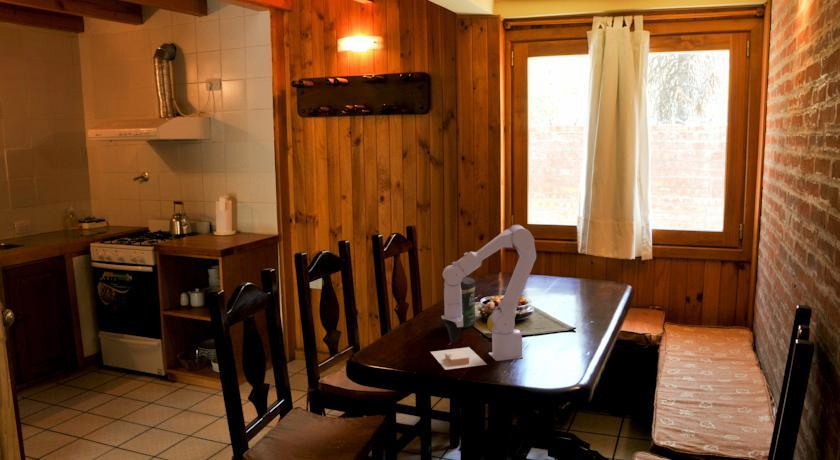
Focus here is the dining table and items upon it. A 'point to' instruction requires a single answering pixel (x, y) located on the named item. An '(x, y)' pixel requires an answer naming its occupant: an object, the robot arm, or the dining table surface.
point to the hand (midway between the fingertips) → (454, 342)
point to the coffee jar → (468, 301)
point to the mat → (473, 361)
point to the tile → (456, 357)
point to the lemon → (490, 323)
